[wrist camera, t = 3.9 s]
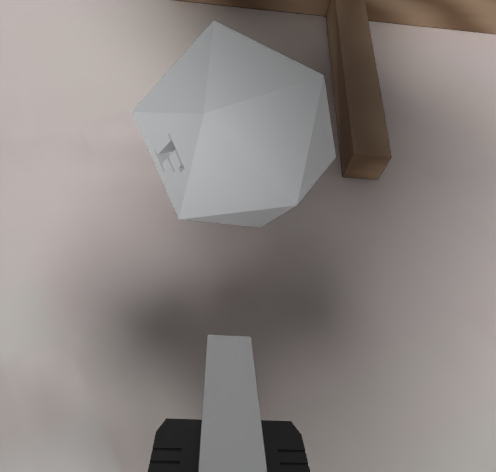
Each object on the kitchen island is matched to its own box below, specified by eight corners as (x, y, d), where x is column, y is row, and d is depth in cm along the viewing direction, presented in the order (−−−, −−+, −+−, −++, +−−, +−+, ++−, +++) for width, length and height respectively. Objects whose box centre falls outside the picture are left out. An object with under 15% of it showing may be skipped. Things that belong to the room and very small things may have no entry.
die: (168, 119, 25) (61, 69, 16) (301, 45, 23) (266, -63, 14) (224, 246, 25) (148, 269, 16) (364, 182, 23) (371, 166, 14)
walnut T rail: (493, 17, 32) (519, -23, 30) (562, 193, 25) (605, 161, 22) (172, -18, 31) (170, -64, 28) (141, 161, 23) (133, 122, 20)
